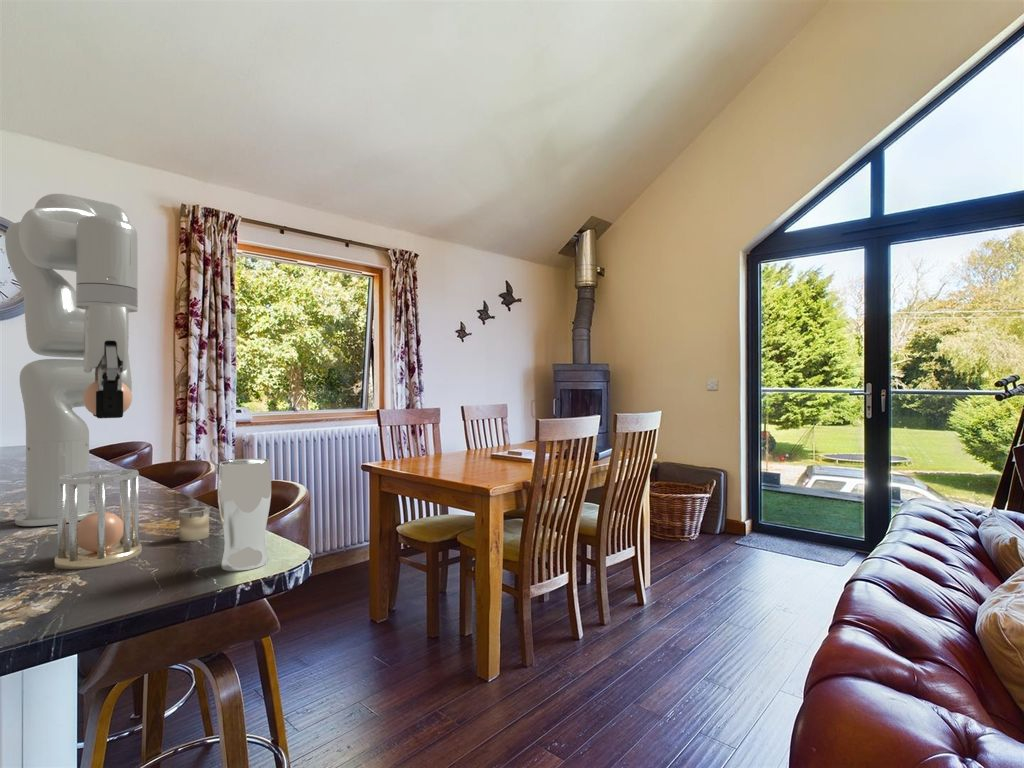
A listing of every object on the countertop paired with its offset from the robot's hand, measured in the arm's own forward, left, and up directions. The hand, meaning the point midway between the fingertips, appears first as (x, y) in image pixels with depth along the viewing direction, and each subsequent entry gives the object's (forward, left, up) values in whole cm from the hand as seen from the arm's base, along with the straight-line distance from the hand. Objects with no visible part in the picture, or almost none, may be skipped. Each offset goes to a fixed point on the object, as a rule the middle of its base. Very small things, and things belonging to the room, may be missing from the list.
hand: (107, 415), depth 81 cm
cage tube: (0, -1, -22) cm, 22 cm away
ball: (0, -1, -18) cm, 18 cm away
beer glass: (+18, +15, -22) cm, 32 cm away
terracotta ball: (0, 0, +3) cm, 3 cm away
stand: (-3, +12, -22) cm, 25 cm away
